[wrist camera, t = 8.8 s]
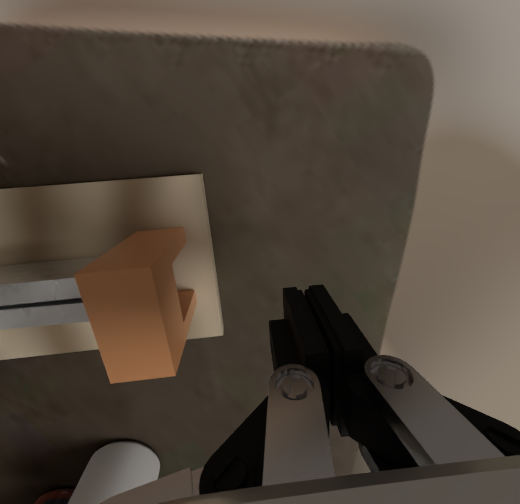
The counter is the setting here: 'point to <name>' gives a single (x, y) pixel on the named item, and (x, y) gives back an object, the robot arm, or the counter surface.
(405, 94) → the counter surface
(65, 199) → the tongs board
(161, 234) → the orange notched block
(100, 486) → the can
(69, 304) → the bar
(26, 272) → the jaw
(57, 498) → the supplement bottle
